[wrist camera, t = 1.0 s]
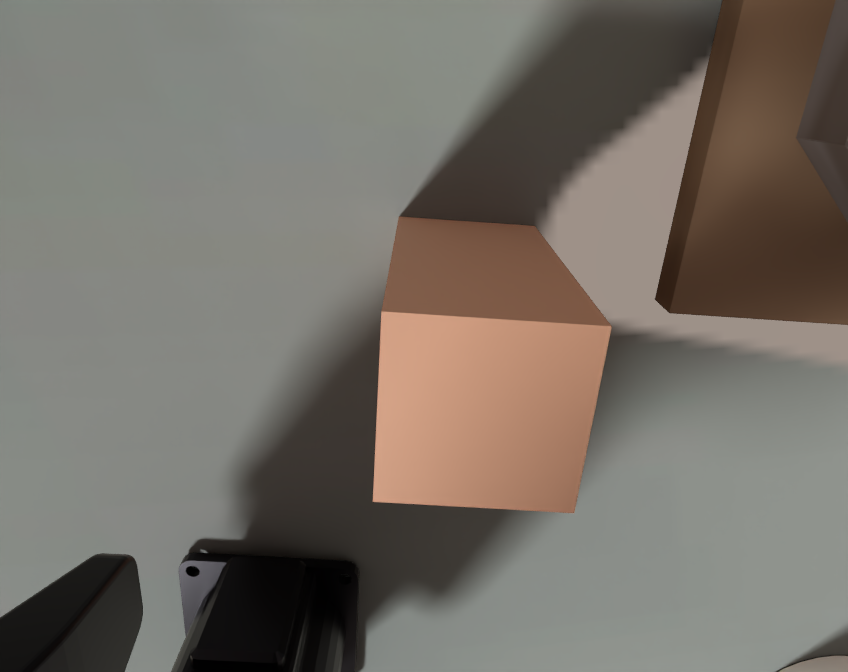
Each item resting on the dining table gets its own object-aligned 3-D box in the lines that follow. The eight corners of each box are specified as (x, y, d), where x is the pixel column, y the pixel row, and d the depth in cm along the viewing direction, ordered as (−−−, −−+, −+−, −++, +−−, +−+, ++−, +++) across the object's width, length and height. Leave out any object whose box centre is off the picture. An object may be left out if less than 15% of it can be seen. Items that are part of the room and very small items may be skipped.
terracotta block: (517, 350, 20) (574, 513, 12) (392, 341, 19) (373, 501, 12) (534, 225, 18) (611, 326, 11) (399, 216, 18) (381, 311, 11)
